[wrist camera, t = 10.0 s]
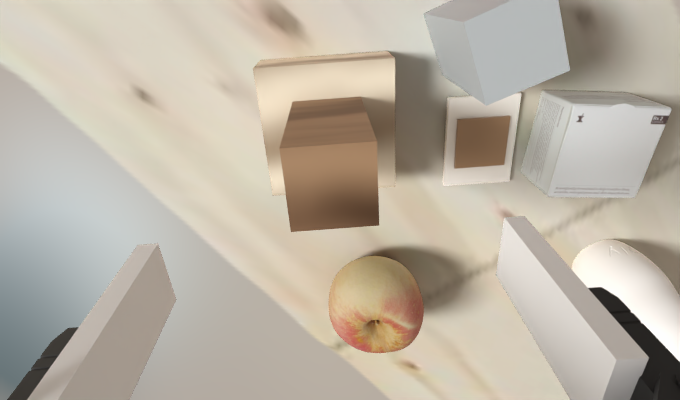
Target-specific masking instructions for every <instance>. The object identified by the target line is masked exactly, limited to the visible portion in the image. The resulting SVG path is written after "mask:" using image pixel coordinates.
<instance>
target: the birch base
mask: <svg viewBox="0 0 680 400" xmlns="http://www.w3.org/2000/svg"><path fill="white" fill-rule="evenodd" d="M253 72H254V79H255V85H256V91H257V98H258V104H259V111H260V117H261V123H262V130H263V136H264V143H265V149H266V155H267V162H268V168H269V175H270V181H271V187H272V194H273V196H276V195H286V192H285V185H284V178H283V171H282V164H281V157H280V149H279V148H280V144H281V141H282V137H283V134H284V130H285V127H286V123H287V120H288V116H289V112H290V109H291V105H292V102H293V101H306V100H320V99H334V98H347V97H361V98H362V101H363V104H364V106H365V109H366V112H367V115H368V118H369V120H370V123H371V126H372V129H373V131H374V134H375V137H376V140H377V162H378V188H385V187H395V58H394V57H393V56H392V55H391V54H390V53H389V52H388V51H378V52H365V53H351V54H337V55H323V56H309V57H296V58H282V59H268V60H260V61H259V62H258V64H257V65H256V66H255V67H254V68H253Z"/></svg>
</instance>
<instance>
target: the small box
mask: <svg viewBox="0 0 680 400" xmlns="http://www.w3.org/2000/svg"><path fill="white" fill-rule="evenodd" d="M671 110H672V109H671V108H670V107H668V106H665V105H663V104H660V103H657V102H654V101H651V100H648V99H645V98H642V97H639V96H636V95H633V94H630V93H622V92H596V91H563V90H542V91H541V96H540V100H539V104H538V108H537V112H536V115H535V119H534V123H533V126H532V130H531V134H530V138H529V141H528V145H527V149H526V152H525V156H524V160H523V164H522V168H521V173H522V174H523V175H524V176H525V177H526V178H527V179H528V180H530V181H531V182H532V183H533V184H534V185H535V186H536V187H537V188H539V189H540V190H541V191H542V192H543V193H544V194H545V195H546V196H547V197H565V198H635V197H636V195H637V192H638V190H639V188H640V186H641V183H642V181H643V179H644V176H645V173H646V171H647V169H648V166H649V164H650V161H651V159H652V156H653V154H654V151H655V149H656V146H657V144H658V142H659V139H660V137H661V135H662V132H663V130H664V127H665V125H666V122H667V120H668V117H669V115H670V113H671Z"/></svg>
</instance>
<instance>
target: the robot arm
mask: <svg viewBox="0 0 680 400" xmlns="http://www.w3.org/2000/svg"><path fill="white" fill-rule="evenodd" d="M496 276H497V278H498V280H499V281H500V283H501V285H502V286H503V288H504V290H505V291H506V293H507V295H508V296H509V298H510V300H511V301H512V303H513V305H514V306H515V308H516V310H517V311H518V313H519V315H520V316H521V318H522V320H523V321H524V323H525V325H526V326H527V328H528V330H529V331H530V333H531V335H532V336H533V338H534V340H535V341H536V343H537V345H538V346H539V348H540V350H541V351H542V353H543V355H544V356H545V358H546V360H547V361H548V363H549V365H550V366H551V368H552V370H553V371H554V373H555V375H556V376H557V378H558V380H559V381H560V383H561V385H562V386H563V388H564V390H565V391H566V393H567V395H568V396H569V398H570V400H680V362H679V361H678V360H677V359H676V357H675V356H674V355H673V354H672V353H671V352H670V351H669V350H668V349H667V348H666V347H665V346H664V345H663V344H662V343H661V342H660V341H659V340H658V339H657V338H656V336H655V335H654V334H653V333H652V332H651V331H650V330H649V329H648V328H647V327H646V326H645V325H644V324H641V321H640V320H639V319H638V318H637V316H636V315H635V314H634V313H631V310H630V309H629V308H628V307H627V306H626V305H625V304H624V303H623V302H622V301H621V300H620V299H619V298H618V297H617V296H615V295H614V294H612V293H610V292H609V291H607V290H605V289H604V288H602V287H594V288H587V287H586V285H585V284H584V283H583V282H582V281H581V280H580V279H579V277H578V276H577V275H576V274H575V273H574V272H573V271H572V269H571V268H570V267H569V266H568V265H567V264H566V263H565V262H564V260H563V259H562V258H561V257H560V256H559V255H558V254H557V252H556V251H555V250H554V249H553V248H552V247H551V246H550V245H549V243H548V242H547V241H546V240H545V239H544V238H543V237H542V235H541V234H540V233H539V232H538V231H537V230H536V229H535V227H534V226H533V225H532V224H531V223H530V222H529V221H528V220H527V218H526V217H525V216H519V217H506V218H504V223H503V230H502V237H501V244H500V251H499V258H498V265H497V272H496ZM175 301H176V297H175V294H174V291H173V288H172V285H171V282H170V279H169V276H168V273H167V270H166V267H165V264H164V260H163V257H162V254H161V251H160V248H159V245H158V244H144V245H137V247H136V248H135V249H134V251H133V252H132V254H131V255H130V257H129V258H128V259H127V261H126V262H125V263H124V265H123V266H122V268H121V269H120V270H119V272H118V273H117V275H116V276H115V277H114V279H113V280H112V282H111V283H110V284H109V286H108V287H107V289H106V290H105V292H104V293H103V294H102V296H101V297H100V299H99V300H98V301H97V303H96V304H95V305H94V307H93V308H92V310H91V311H90V312H89V314H88V315H87V317H86V318H85V319H84V321H83V322H82V324H81V325H80V327H77V328H68V329H66V330H65V331H64V332H63V333H62V334H60V335H59V336H58V337H57V338H55V339H54V340H53V341H52V342H51V343H50V344H49V346H48V347H47V348H46V350H45V351H44V352H43V353H42V355H41V358H40V359H38V360H37V361H36V363H35V364H34V365H33V367H32V370H31V371H29V372H28V373H27V374H26V376H25V377H24V378H23V380H22V381H21V383H20V384H19V385H18V386H17V388H16V389H15V390H14V392H13V393H12V394H11V395H10V397H9V398H8V399H7V400H130V398H131V396H132V394H133V391H134V389H135V387H136V385H137V382H138V381H139V379H140V376H141V374H142V372H143V370H144V368H145V366H146V364H147V361H148V359H149V357H150V355H151V353H152V350H153V349H154V346H155V344H156V342H157V340H158V338H159V336H160V333H161V331H162V329H163V327H164V325H165V323H166V321H167V318H168V316H169V314H170V312H171V310H172V308H173V305H174V303H175Z"/></svg>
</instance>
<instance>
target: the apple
mask: <svg viewBox="0 0 680 400" xmlns="http://www.w3.org/2000/svg"><path fill="white" fill-rule="evenodd" d="M423 314H424V307H423V300H422V296H421V292H420V289H419V287H418V285H417V282H416V280H415V279H414V277H413V276H412V274H411V273H410V272H409V270H408V269H407V268H406V267H405V266H403V265H402V264H401V263H399V262H397V261H395V260H393V259H390V258H387V257H381V256H367V257H362V258H359V259H356V260H354V261H352V262H350V263H348V264H347V265H346V266H345V267H344V268H342V269H341V270H340V271H339V272H338V274H337V275H336V277H335V279H334V281H333V283H332V286H331V289H330V294H329V315H330V319H331V322H332V325H333V327H334V329H335V331H336V332H337V334H338V335H339V336H340V337H341V338H342V339H343V340H344V341H345V342H347V343H348V344H349V345H351V346H353V347H355V348H357V349H359V350H362V351H365V352H371V353H386V352H393V351H398V350H401V349H404V348H405V347H407V346H408V345H410V344H411V343H412V342H413V340H414V339H415V338H416V336H417V335H418V333H419V331H420V328H421V325H422V321H423Z"/></svg>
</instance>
